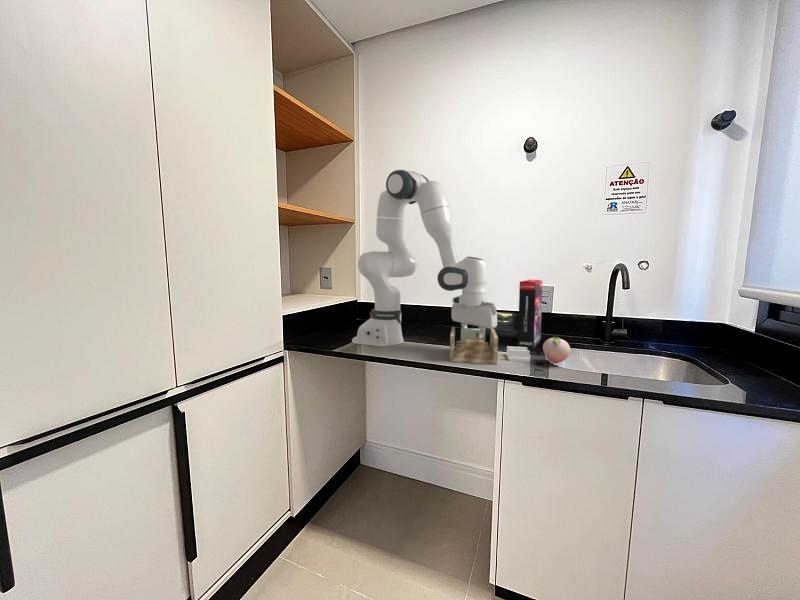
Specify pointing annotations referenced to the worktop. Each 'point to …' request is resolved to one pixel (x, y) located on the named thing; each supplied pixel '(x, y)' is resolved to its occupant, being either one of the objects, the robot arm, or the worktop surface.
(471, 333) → the sheet
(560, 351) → the decorative fruit
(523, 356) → the holder
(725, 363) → the worktop surface
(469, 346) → the offcut upper
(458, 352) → the rack
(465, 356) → the offcut lower
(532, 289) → the graphics card box
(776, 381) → the worktop surface
